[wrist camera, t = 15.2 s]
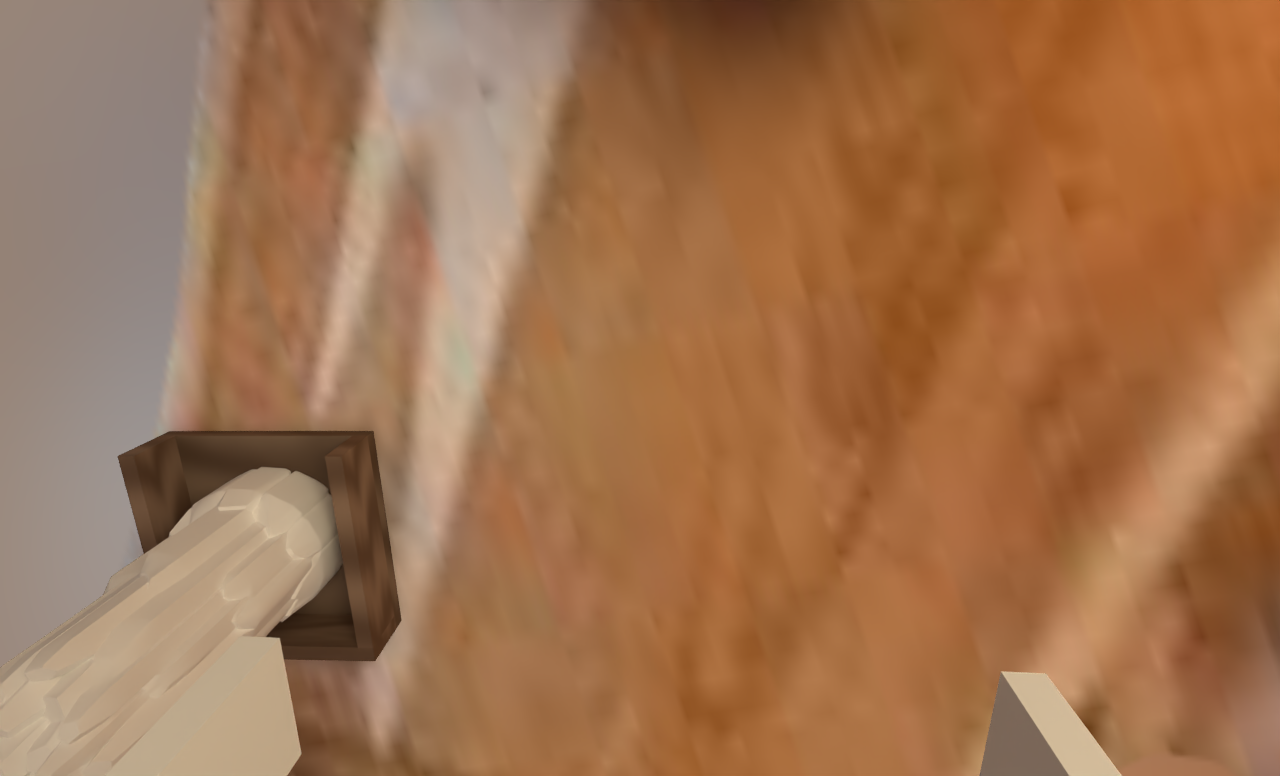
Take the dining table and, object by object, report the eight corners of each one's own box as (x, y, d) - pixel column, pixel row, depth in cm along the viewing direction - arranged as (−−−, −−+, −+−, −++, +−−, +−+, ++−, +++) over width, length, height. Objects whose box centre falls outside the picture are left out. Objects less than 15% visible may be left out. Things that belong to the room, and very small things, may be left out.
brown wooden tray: (169, 431, 52) (117, 456, 47) (373, 431, 50) (341, 456, 46) (214, 617, 56) (171, 656, 52) (401, 620, 55) (375, 661, 51)
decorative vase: (202, 469, 51) (-215, 713, 27) (334, 462, 50) (23, 708, 26) (237, 590, 54) (-110, 905, 30) (362, 585, 53) (106, 906, 30)
